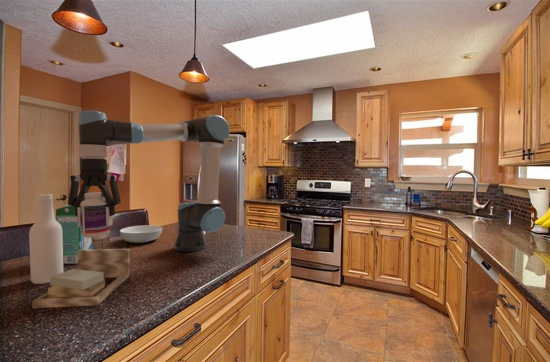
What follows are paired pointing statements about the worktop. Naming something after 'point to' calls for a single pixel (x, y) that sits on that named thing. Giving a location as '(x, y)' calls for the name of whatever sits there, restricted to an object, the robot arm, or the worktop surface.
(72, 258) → the milk carton
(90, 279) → the offcut top
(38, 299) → the rack
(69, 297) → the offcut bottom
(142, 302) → the worktop surface
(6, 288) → the worktop surface
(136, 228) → the serving bowl
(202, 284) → the worktop surface
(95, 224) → the pill bottle
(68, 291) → the block
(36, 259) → the alcohol
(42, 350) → the worktop surface
